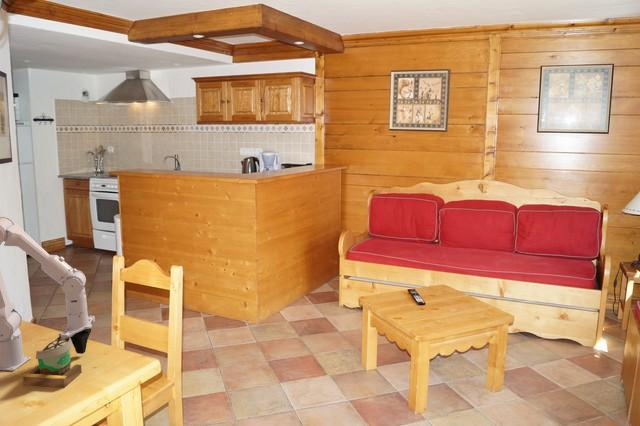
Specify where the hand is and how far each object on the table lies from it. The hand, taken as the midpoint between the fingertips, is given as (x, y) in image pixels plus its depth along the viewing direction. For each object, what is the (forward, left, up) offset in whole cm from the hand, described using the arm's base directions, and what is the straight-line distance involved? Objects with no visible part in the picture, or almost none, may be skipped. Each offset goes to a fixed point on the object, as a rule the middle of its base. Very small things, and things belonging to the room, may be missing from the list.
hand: (81, 352), depth 156 cm
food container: (+1, -11, -1) cm, 11 cm away
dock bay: (0, -14, -1) cm, 14 cm away
